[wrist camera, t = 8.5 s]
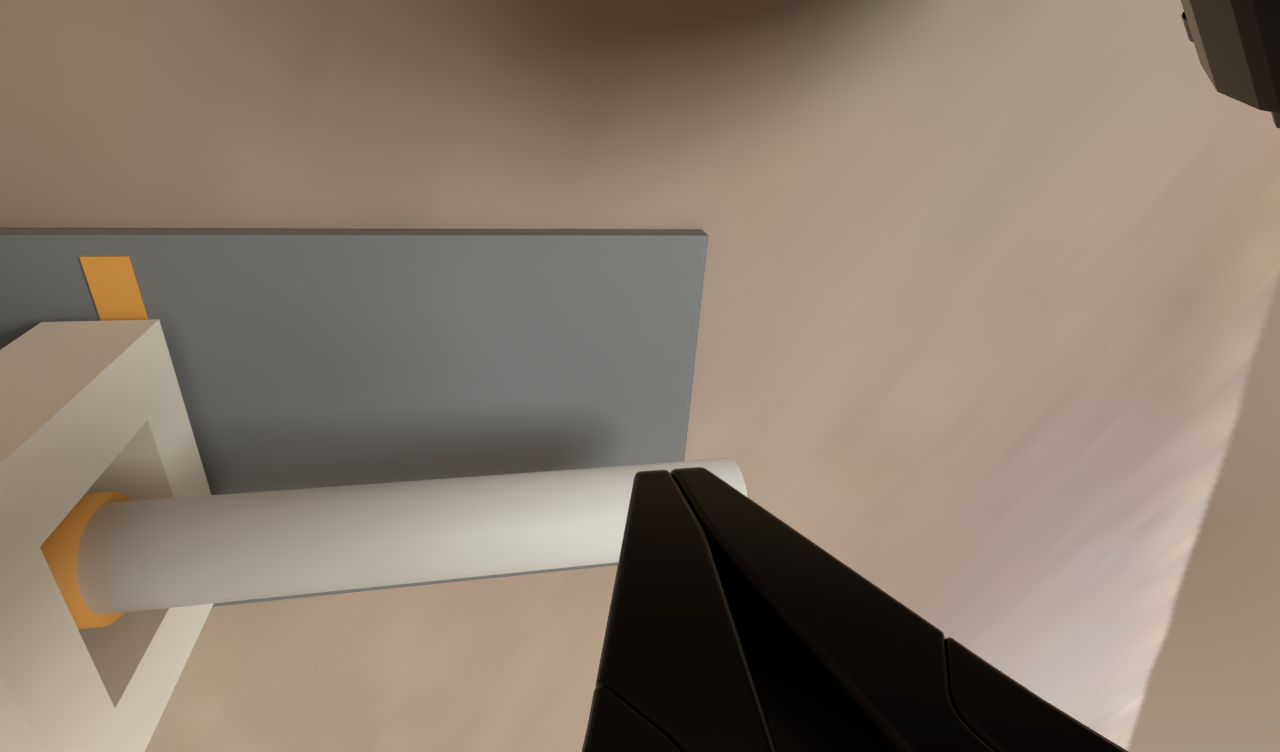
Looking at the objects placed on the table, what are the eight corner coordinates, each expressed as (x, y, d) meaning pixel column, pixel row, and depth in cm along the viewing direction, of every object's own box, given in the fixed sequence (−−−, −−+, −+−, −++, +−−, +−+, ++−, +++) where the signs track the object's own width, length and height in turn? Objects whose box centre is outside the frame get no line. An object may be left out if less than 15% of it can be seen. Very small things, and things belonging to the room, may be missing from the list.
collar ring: (159, 319, 16) (-78, 536, 9) (231, 564, 20) (99, 849, 13) (41, 322, 16) (-301, 553, 9) (138, 572, 20) (-52, 874, 13)
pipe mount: (702, 229, 19) (824, 346, 12) (669, 548, 25) (741, 752, 18) (-367, 227, 14) (-1162, 419, 7) (-110, 624, 20) (-429, 948, 13)
